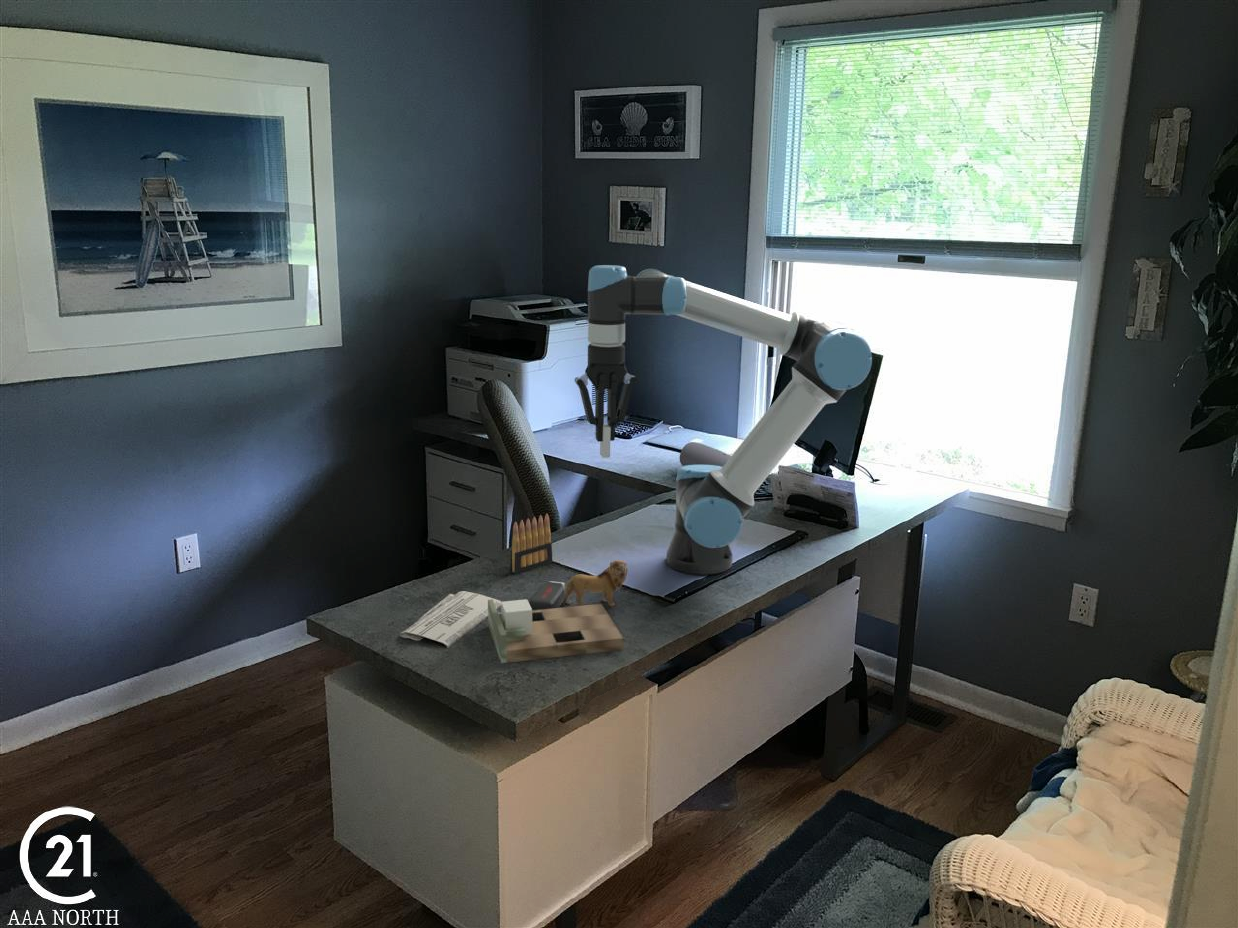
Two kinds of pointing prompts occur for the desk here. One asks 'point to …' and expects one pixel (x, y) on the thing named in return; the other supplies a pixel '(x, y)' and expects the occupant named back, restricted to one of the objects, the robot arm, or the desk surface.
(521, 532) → the ammunition clip
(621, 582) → the lion figurine
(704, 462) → the grey long tapered piece
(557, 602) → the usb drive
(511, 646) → the trap deck
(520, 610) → the cream block
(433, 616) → the newspaper
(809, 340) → the robot arm
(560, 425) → the desk surface
